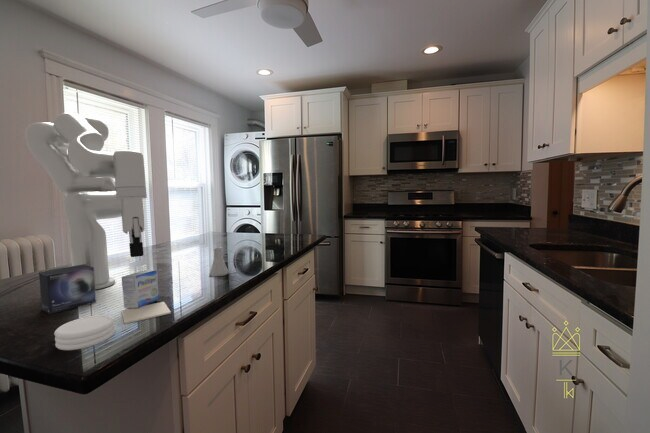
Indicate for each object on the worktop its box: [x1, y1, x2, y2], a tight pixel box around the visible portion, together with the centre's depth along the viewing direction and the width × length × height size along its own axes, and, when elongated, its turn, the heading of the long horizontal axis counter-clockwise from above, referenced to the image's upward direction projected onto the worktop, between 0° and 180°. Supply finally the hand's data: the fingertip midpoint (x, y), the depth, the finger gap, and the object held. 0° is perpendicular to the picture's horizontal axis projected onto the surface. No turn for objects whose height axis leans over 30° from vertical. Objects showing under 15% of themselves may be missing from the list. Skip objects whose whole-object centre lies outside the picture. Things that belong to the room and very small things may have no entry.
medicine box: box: [121, 269, 160, 309], centre depth 85 cm, size 8×4×9 cm, turn 168°
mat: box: [120, 301, 172, 325], centre depth 80 cm, size 10×10×1 cm
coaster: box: [53, 314, 116, 351], centre depth 66 cm, size 10×10×4 cm
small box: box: [38, 264, 97, 315], centre depth 85 cm, size 11×6×10 cm, turn 148°
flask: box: [208, 247, 230, 277], centre depth 116 cm, size 7×7×10 cm
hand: (137, 256), depth 91 cm, fingers closed
